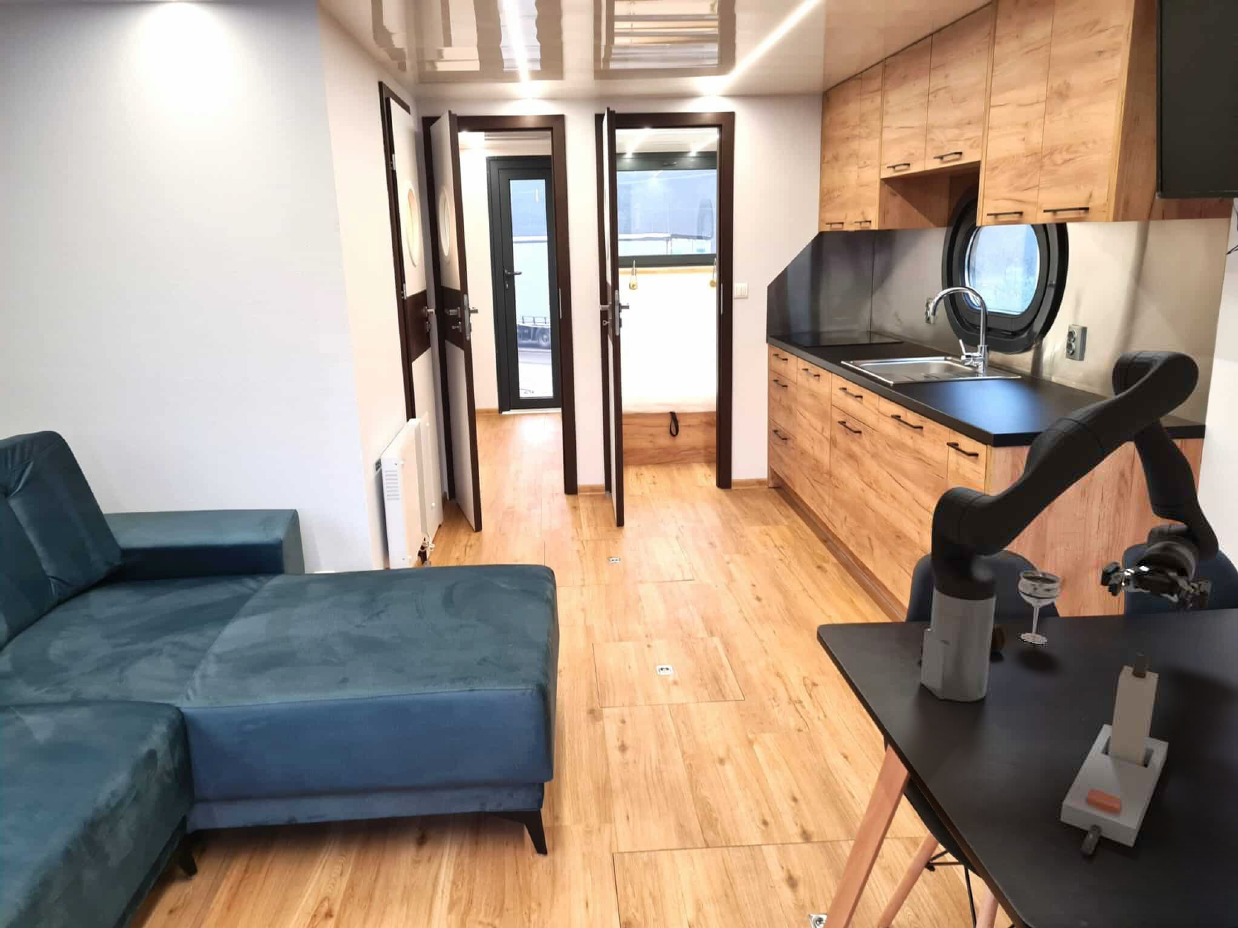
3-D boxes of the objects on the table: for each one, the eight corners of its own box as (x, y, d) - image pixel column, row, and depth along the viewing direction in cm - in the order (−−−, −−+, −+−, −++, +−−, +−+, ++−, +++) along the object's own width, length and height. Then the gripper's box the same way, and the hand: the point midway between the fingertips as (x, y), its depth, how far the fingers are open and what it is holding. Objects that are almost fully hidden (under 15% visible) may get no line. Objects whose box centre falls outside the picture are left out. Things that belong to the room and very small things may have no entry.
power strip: (1123, 869, 103) (1127, 844, 102) (1049, 840, 108) (1052, 817, 107) (1165, 758, 125) (1169, 737, 124) (1102, 739, 129) (1105, 718, 129)
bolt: (920, 669, 155) (990, 653, 160) (938, 667, 150) (1009, 650, 155) (911, 636, 156) (981, 621, 161) (928, 633, 152) (999, 618, 156)
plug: (1139, 779, 120) (1156, 664, 116) (1106, 768, 122) (1122, 656, 118) (1144, 765, 123) (1161, 653, 119) (1111, 756, 125) (1127, 645, 121)
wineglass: (1061, 645, 160) (1069, 582, 157) (1028, 648, 158) (1035, 585, 155) (1037, 629, 166) (1044, 569, 163) (1005, 632, 165) (1011, 572, 162)
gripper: (1119, 537, 147) (1097, 562, 135) (1221, 556, 138) (1207, 585, 126) (1113, 579, 149) (1090, 608, 137) (1213, 601, 140) (1198, 634, 128)
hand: (1146, 597), depth 131 cm, fingers open, 8 cm apart
